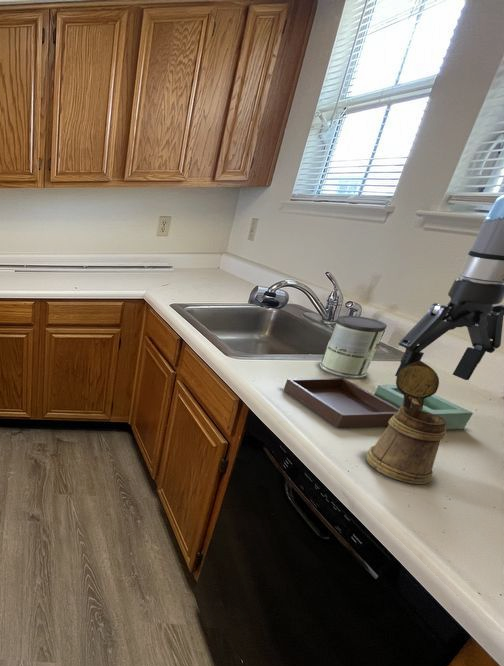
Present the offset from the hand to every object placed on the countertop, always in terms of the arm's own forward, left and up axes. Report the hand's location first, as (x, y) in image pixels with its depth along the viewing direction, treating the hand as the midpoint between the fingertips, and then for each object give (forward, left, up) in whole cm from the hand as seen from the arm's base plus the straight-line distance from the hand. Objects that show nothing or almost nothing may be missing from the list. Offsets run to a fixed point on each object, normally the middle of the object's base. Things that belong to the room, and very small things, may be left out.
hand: (431, 378), depth 90 cm
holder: (+4, +15, -9) cm, 18 cm away
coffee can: (+23, -2, -9) cm, 25 cm away
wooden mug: (-16, +21, -9) cm, 28 cm away
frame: (0, 0, -9) cm, 9 cm away
